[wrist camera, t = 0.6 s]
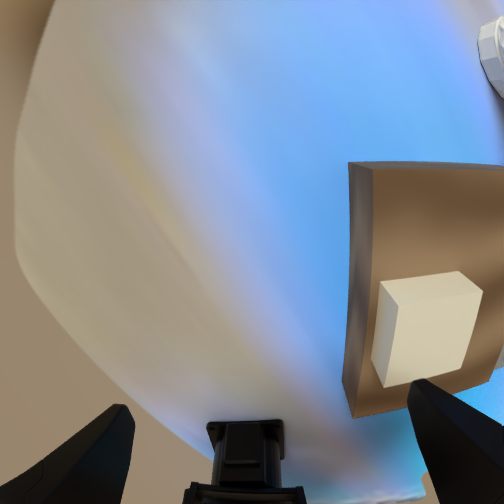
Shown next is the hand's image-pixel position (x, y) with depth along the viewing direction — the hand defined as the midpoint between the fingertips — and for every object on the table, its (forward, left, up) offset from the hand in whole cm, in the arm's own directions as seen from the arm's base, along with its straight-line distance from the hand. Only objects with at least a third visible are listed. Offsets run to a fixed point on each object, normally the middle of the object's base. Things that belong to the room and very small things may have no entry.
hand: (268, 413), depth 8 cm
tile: (-2, -8, -7) cm, 11 cm away
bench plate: (-2, -11, -11) cm, 16 cm away
